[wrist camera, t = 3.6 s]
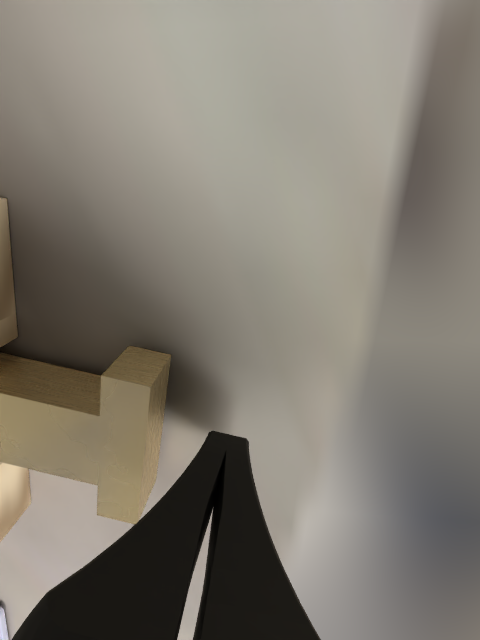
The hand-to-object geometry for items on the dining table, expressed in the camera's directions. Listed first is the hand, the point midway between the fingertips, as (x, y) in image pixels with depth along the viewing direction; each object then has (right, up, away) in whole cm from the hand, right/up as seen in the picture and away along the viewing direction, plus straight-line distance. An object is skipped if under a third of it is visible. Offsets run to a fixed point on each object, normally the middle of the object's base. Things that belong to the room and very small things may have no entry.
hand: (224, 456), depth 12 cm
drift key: (-6, +2, +1) cm, 6 cm away
